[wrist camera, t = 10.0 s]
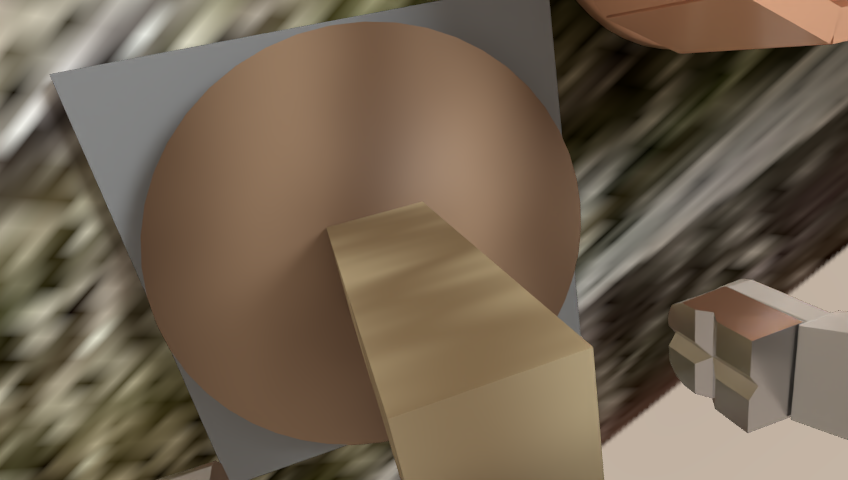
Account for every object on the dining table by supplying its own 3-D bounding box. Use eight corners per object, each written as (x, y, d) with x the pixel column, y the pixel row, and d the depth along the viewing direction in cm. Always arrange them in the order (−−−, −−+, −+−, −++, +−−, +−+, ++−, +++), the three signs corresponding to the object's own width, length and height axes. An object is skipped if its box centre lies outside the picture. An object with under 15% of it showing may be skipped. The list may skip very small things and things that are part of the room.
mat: (538, -17, 16) (547, -20, 15) (575, 353, 21) (583, 361, 20) (59, 74, 13) (49, 74, 13) (232, 473, 18) (230, 486, 18)
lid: (544, -13, 15) (943, -150, 6) (580, 357, 20) (833, 591, 11) (65, 79, 13) (-487, 81, 4) (236, 478, 18) (190, 917, 8)
